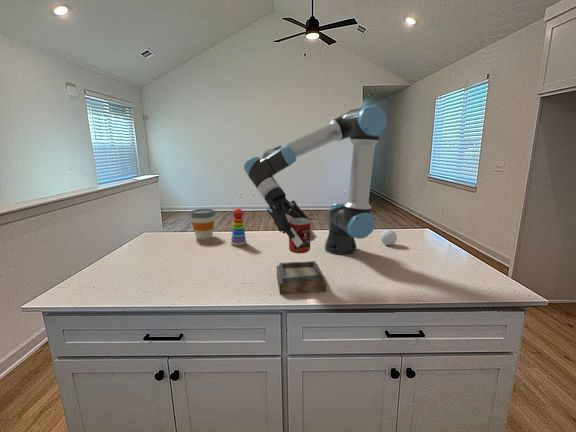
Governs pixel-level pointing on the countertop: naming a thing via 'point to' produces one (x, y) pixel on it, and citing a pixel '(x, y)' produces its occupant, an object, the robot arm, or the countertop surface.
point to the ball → (388, 237)
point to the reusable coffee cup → (203, 223)
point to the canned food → (300, 234)
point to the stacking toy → (238, 229)
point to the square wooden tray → (300, 278)
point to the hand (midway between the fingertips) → (307, 242)
